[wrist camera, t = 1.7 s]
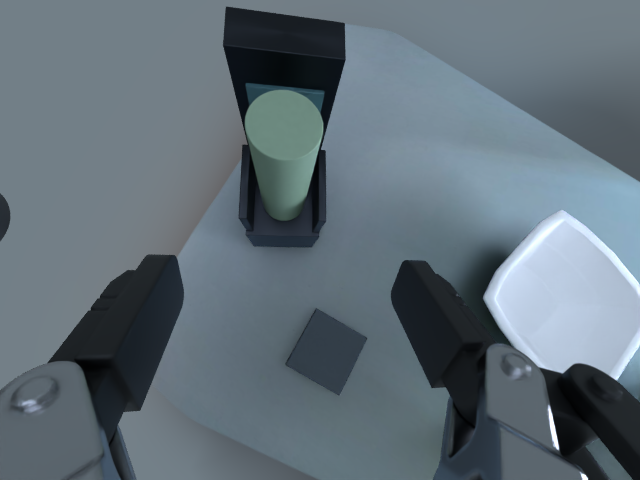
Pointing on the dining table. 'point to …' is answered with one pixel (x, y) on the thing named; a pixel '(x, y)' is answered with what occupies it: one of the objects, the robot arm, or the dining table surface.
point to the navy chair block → (283, 74)
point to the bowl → (567, 299)
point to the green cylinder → (283, 149)
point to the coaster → (326, 351)
